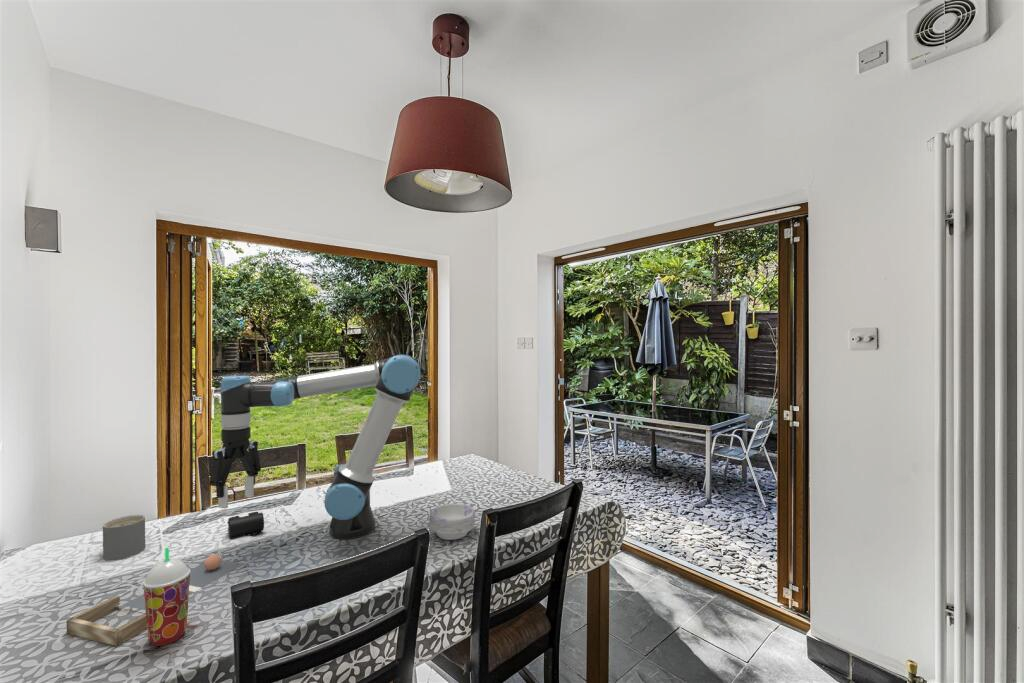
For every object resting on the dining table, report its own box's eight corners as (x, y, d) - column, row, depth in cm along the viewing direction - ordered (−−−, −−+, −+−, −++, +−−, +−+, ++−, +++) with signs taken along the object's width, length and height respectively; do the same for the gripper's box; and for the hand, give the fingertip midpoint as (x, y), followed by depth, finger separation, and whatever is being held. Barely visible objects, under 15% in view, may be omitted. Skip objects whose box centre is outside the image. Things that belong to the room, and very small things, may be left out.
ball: (224, 566, 127) (224, 553, 127) (211, 574, 123) (211, 559, 123) (213, 565, 128) (213, 551, 128) (200, 572, 124) (200, 557, 124)
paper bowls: (484, 533, 150) (484, 510, 150) (449, 549, 139) (448, 524, 139) (455, 521, 160) (455, 499, 160) (420, 534, 149) (420, 511, 149)
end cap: (229, 543, 144) (229, 523, 144) (226, 536, 150) (226, 516, 150) (264, 534, 151) (264, 514, 151) (260, 528, 156) (259, 508, 156)
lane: (244, 567, 129) (244, 563, 129) (158, 616, 106) (158, 612, 106) (212, 561, 132) (212, 558, 132) (122, 608, 109) (122, 604, 109)
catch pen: (164, 618, 105) (164, 605, 105) (116, 646, 96) (116, 632, 96) (116, 607, 110) (116, 595, 110) (66, 633, 100) (66, 620, 100)
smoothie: (161, 626, 102) (160, 540, 102) (199, 624, 103) (198, 538, 103) (133, 652, 94) (132, 558, 94) (175, 649, 94) (174, 556, 94)
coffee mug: (147, 552, 139) (147, 520, 139) (104, 564, 131) (104, 530, 131) (141, 539, 148) (140, 509, 148) (100, 549, 141) (100, 518, 141)
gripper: (255, 420, 144) (256, 489, 144) (192, 433, 124) (193, 514, 124) (273, 421, 142) (274, 491, 142) (213, 435, 122) (213, 516, 122)
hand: (236, 502), depth 133 cm, fingers open, 8 cm apart
